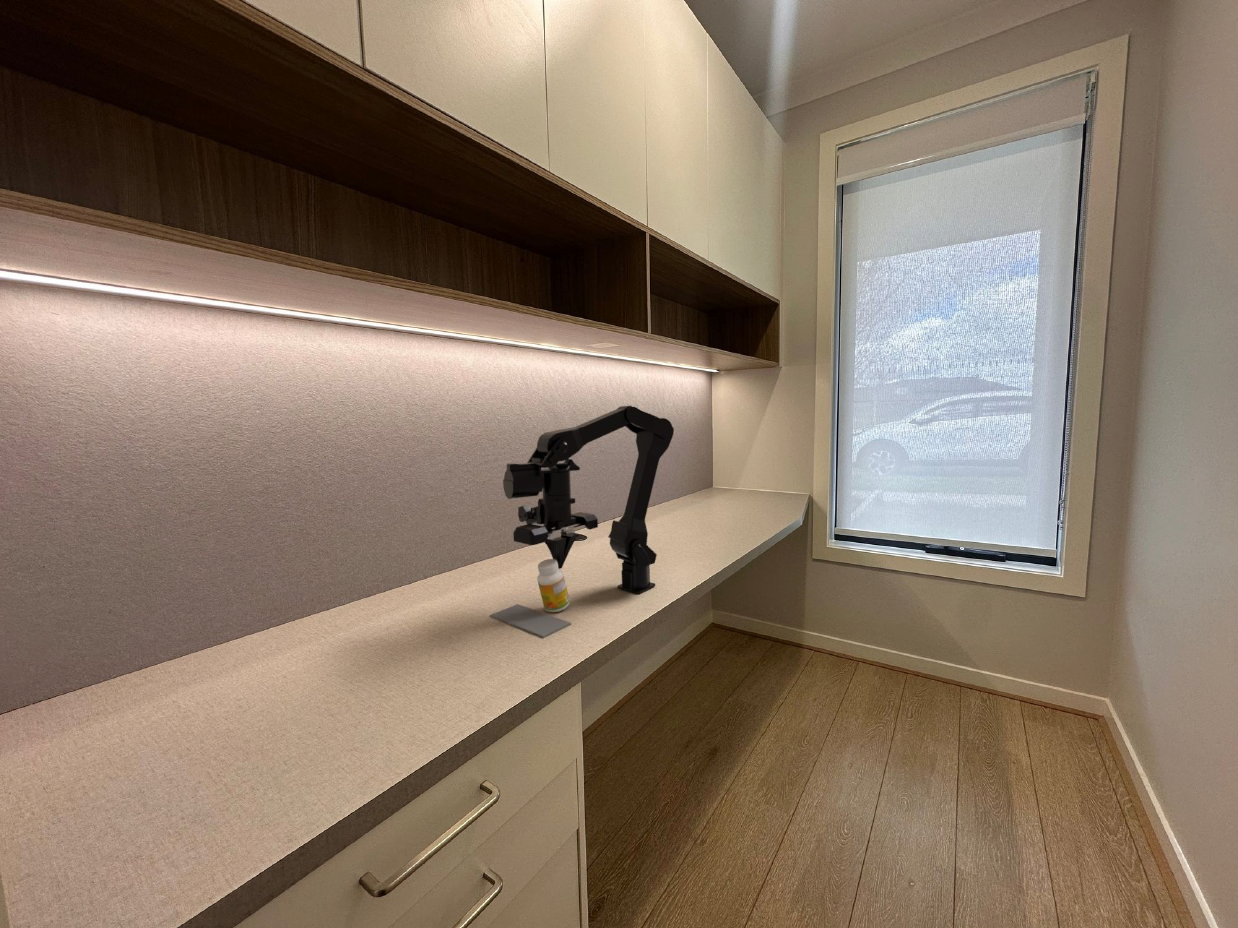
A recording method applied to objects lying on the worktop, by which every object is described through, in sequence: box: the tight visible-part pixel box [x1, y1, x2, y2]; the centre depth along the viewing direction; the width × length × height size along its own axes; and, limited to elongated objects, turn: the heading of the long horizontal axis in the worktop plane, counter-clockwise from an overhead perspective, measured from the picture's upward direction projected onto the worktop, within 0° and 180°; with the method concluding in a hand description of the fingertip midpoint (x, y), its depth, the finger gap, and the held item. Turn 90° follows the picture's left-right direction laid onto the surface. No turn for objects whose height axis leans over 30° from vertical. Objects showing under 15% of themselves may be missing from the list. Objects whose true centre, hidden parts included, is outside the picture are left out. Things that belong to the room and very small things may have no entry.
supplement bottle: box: [536, 558, 571, 613], centre depth 98 cm, size 5×5×10 cm
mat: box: [489, 603, 572, 639], centre depth 94 cm, size 7×16×1 cm, turn 51°
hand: (559, 568), depth 100 cm, fingers closed
